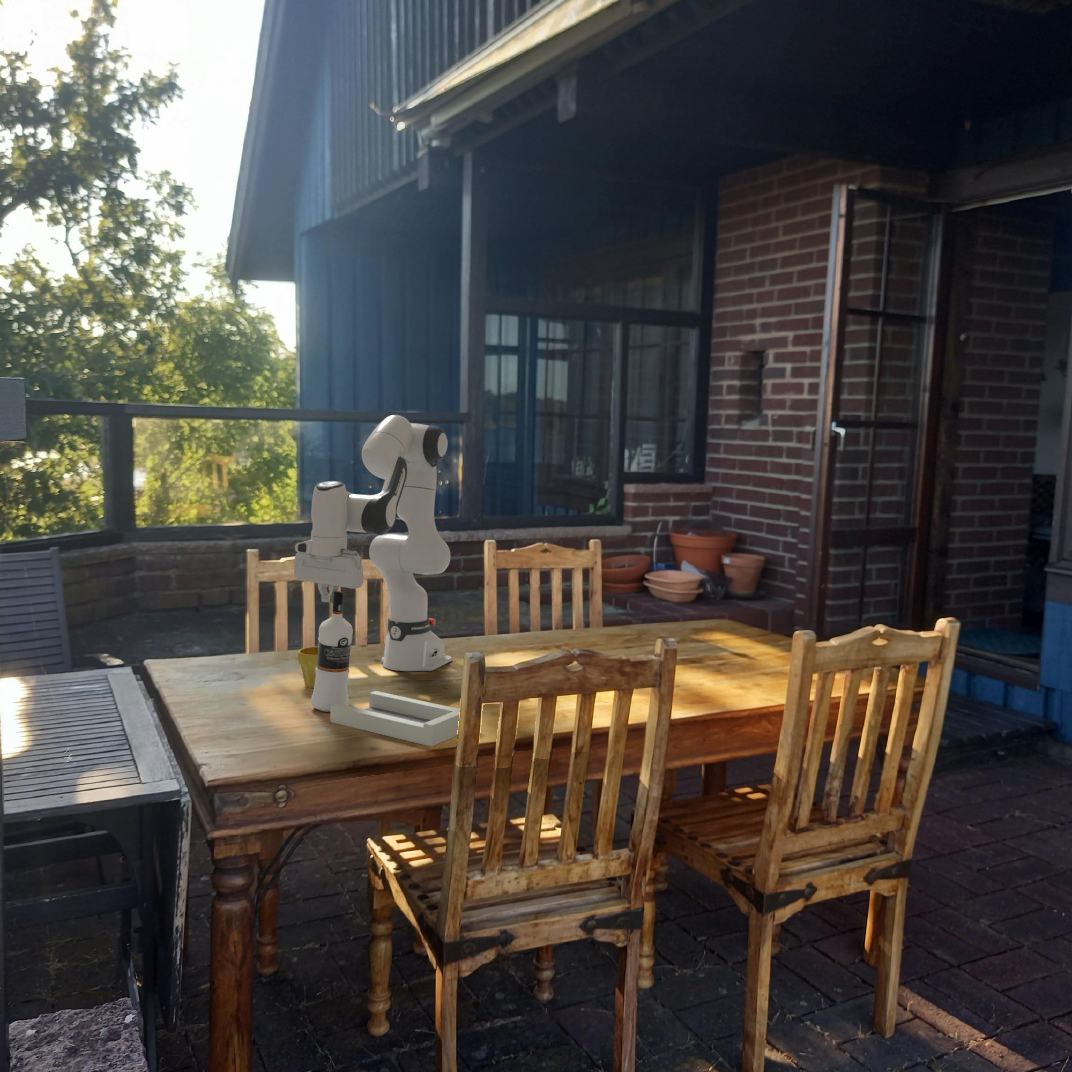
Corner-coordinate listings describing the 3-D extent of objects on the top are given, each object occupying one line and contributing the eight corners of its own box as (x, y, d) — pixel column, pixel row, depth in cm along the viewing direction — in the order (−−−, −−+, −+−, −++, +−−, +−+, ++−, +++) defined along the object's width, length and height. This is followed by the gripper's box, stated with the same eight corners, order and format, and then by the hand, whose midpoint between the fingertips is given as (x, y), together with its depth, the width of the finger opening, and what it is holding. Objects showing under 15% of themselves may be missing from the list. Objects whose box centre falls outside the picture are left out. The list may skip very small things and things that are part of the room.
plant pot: (298, 691, 278) (299, 655, 277) (296, 681, 288) (297, 646, 286) (338, 689, 281) (338, 654, 279) (334, 679, 290) (335, 645, 289)
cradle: (375, 706, 267) (375, 687, 266) (473, 728, 251) (474, 708, 251) (330, 721, 252) (330, 701, 252) (431, 746, 237) (432, 725, 236)
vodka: (339, 698, 270) (349, 586, 265) (353, 711, 262) (364, 595, 257) (305, 702, 265) (314, 587, 259) (318, 714, 257) (328, 597, 252)
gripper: (369, 550, 256) (368, 605, 258) (307, 542, 267) (307, 595, 268) (352, 552, 251) (351, 609, 252) (290, 544, 261) (289, 598, 263)
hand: (328, 601), depth 260 cm, fingers closed
